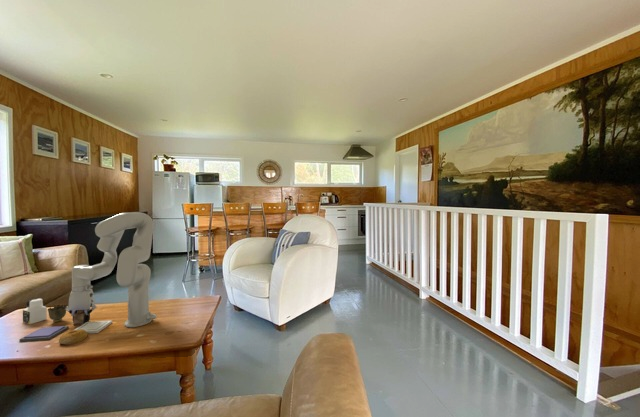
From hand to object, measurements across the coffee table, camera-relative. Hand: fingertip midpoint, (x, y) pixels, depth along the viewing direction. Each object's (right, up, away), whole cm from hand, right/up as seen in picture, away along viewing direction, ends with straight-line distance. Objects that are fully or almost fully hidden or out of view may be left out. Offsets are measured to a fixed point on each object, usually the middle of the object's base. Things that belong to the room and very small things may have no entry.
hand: (81, 321), depth 144 cm
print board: (+11, -1, -6) cm, 13 cm away
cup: (-14, -1, +2) cm, 15 cm away
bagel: (+13, -1, -18) cm, 22 cm away
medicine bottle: (-28, -1, +2) cm, 28 cm away
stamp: (0, -1, 0) cm, 1 cm away
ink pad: (-6, -1, -13) cm, 14 cm away
